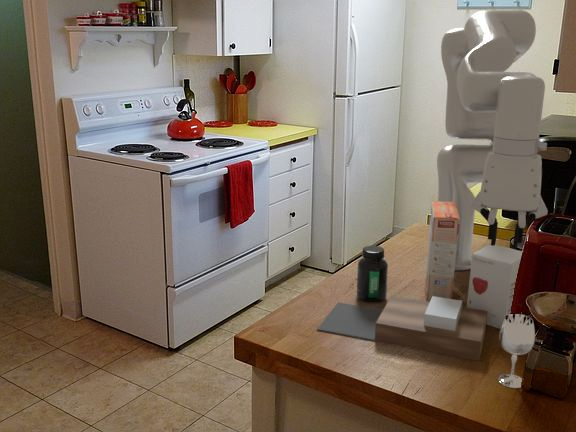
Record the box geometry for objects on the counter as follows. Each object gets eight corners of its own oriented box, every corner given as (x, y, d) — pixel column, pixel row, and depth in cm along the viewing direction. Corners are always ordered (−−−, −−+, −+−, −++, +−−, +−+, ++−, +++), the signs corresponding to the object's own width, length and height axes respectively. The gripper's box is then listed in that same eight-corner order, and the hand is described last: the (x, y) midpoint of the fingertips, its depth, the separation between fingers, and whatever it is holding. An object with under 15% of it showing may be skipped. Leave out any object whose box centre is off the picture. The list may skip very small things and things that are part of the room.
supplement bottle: (378, 306, 137) (381, 256, 134) (351, 299, 141) (353, 250, 137) (390, 295, 143) (393, 247, 139) (364, 289, 146) (366, 242, 143)
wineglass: (489, 373, 110) (495, 312, 107) (519, 371, 111) (527, 311, 107) (502, 391, 105) (509, 327, 101) (534, 389, 105) (543, 326, 102)
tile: (431, 307, 127) (432, 296, 127) (461, 311, 125) (462, 300, 125) (423, 325, 120) (424, 313, 119) (455, 331, 117) (456, 319, 117)
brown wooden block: (390, 312, 134) (391, 295, 133) (485, 328, 127) (487, 311, 126) (374, 341, 122) (375, 322, 121) (479, 360, 114) (480, 341, 113)
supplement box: (464, 318, 132) (470, 252, 127) (482, 304, 138) (489, 242, 134) (504, 331, 126) (512, 263, 121) (522, 317, 132) (530, 252, 128)
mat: (337, 303, 139) (337, 302, 138) (390, 312, 134) (390, 311, 134) (317, 330, 126) (317, 328, 126) (373, 340, 122) (373, 339, 122)
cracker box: (452, 307, 136) (460, 218, 130) (425, 305, 138) (431, 216, 132) (449, 283, 150) (456, 201, 144) (424, 281, 151) (430, 199, 145)
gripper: (565, 146, 109) (552, 244, 114) (469, 140, 115) (461, 233, 120) (566, 154, 102) (552, 257, 108) (464, 147, 108) (456, 245, 114)
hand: (504, 243), depth 114 cm, fingers open, 3 cm apart
